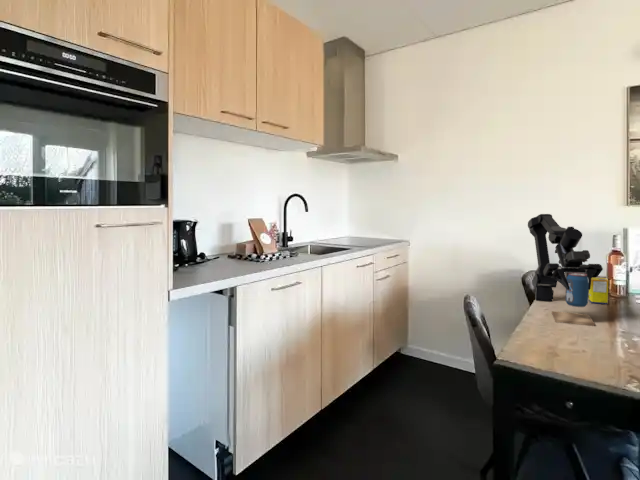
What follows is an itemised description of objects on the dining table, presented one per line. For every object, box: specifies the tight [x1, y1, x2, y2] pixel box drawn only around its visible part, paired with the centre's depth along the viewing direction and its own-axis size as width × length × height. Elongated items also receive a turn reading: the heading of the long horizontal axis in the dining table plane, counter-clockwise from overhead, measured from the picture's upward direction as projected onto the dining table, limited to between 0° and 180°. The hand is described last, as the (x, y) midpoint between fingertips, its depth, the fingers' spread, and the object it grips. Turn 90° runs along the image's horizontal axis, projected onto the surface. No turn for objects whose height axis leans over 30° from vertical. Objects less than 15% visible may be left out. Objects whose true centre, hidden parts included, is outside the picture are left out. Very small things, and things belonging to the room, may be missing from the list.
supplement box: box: [588, 277, 609, 305], centre depth 166 cm, size 6×6×11 cm
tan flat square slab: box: [551, 311, 595, 327], centre depth 142 cm, size 12×12×1 cm
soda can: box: [565, 273, 589, 308], centre depth 141 cm, size 7×7×12 cm
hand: (578, 288), depth 139 cm, fingers closed on soda can, 7 cm apart
